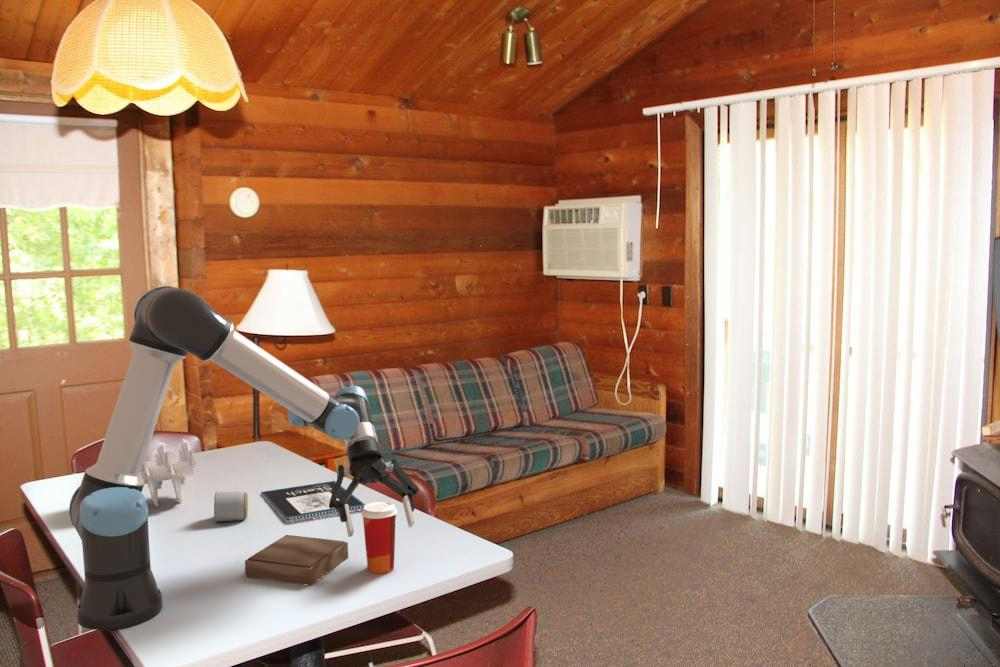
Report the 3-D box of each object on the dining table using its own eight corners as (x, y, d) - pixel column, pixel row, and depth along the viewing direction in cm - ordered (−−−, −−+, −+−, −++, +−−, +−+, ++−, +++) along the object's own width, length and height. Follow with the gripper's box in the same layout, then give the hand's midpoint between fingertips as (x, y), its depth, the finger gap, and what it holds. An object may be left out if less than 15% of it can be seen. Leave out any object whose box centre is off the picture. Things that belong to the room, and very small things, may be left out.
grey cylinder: (247, 523, 216) (246, 493, 215) (214, 526, 214) (212, 496, 213) (249, 511, 226) (248, 482, 225) (217, 513, 224) (215, 485, 223)
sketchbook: (334, 485, 251) (334, 478, 250) (369, 513, 224) (368, 505, 224) (260, 496, 240) (260, 488, 240) (287, 526, 214) (287, 518, 214)
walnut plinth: (311, 585, 176) (310, 567, 176) (245, 576, 181) (244, 558, 181) (348, 557, 191) (347, 540, 191) (286, 550, 196) (285, 533, 196)
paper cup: (381, 559, 190) (380, 499, 188) (405, 567, 185) (404, 505, 184) (355, 570, 184) (353, 508, 182) (379, 579, 179) (377, 515, 177)
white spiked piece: (97, 524, 229) (194, 504, 240) (97, 513, 214) (200, 493, 225) (89, 458, 234) (184, 442, 245) (87, 443, 219) (189, 427, 230)
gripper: (410, 449, 205) (432, 528, 193) (306, 461, 195) (322, 545, 183) (416, 432, 199) (439, 512, 187) (310, 443, 189) (327, 529, 177)
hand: (381, 529), depth 185 cm, fingers open, 13 cm apart
